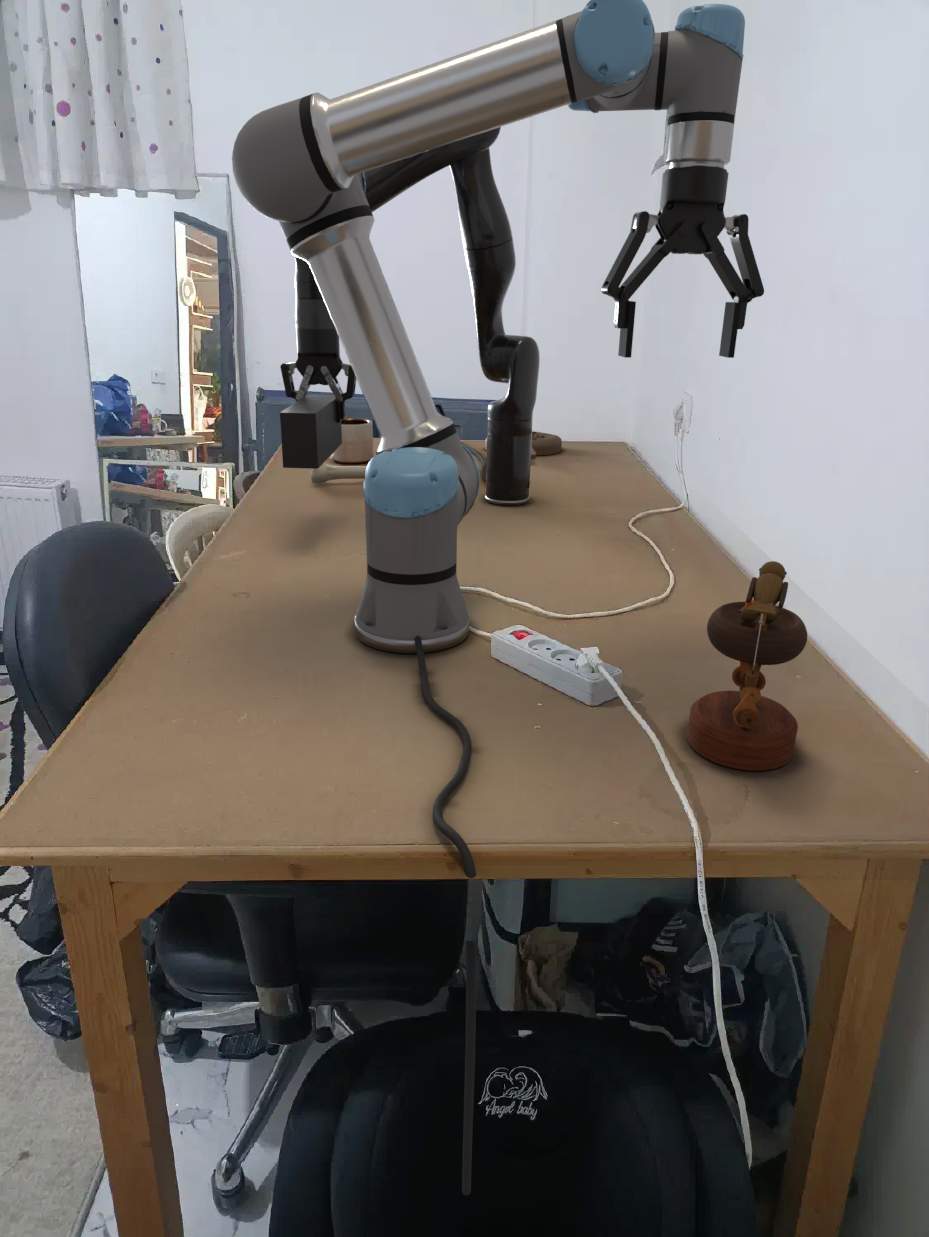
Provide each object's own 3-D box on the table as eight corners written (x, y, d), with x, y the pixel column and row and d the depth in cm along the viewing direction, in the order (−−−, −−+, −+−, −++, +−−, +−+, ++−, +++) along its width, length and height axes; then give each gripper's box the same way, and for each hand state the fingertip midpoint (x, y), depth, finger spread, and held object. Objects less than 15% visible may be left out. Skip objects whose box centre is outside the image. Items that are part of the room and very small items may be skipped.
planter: (327, 456, 217) (325, 418, 214) (369, 454, 220) (368, 417, 217) (334, 465, 208) (332, 425, 204) (377, 463, 211) (376, 424, 207)
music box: (815, 783, 80) (835, 585, 73) (696, 783, 82) (704, 589, 74) (778, 707, 94) (791, 534, 87) (677, 708, 96) (682, 538, 88)
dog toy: (399, 478, 195) (399, 457, 193) (401, 484, 190) (401, 462, 188) (310, 480, 192) (309, 458, 190) (310, 486, 187) (309, 464, 185)
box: (318, 468, 140) (315, 413, 137) (282, 467, 141) (279, 412, 137) (342, 443, 162) (340, 395, 158) (311, 442, 162) (309, 394, 159)
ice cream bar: (490, 464, 211) (490, 447, 209) (483, 443, 237) (483, 428, 235) (573, 465, 212) (575, 448, 210) (557, 444, 238) (558, 429, 236)
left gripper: (779, 174, 104) (753, 354, 112) (584, 167, 100) (572, 353, 109) (811, 168, 97) (782, 359, 106) (603, 160, 94) (589, 359, 102)
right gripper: (360, 325, 153) (363, 419, 160) (282, 324, 154) (288, 417, 160) (354, 328, 146) (357, 426, 153) (272, 326, 147) (278, 424, 153)
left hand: (675, 357), depth 107 cm, fingers open, 13 cm apart
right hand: (321, 421), depth 156 cm, fingers closed on box, 6 cm apart
